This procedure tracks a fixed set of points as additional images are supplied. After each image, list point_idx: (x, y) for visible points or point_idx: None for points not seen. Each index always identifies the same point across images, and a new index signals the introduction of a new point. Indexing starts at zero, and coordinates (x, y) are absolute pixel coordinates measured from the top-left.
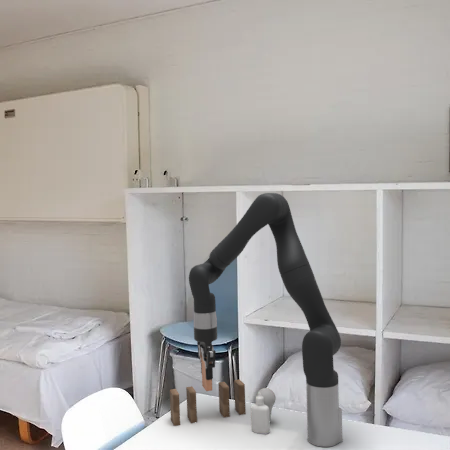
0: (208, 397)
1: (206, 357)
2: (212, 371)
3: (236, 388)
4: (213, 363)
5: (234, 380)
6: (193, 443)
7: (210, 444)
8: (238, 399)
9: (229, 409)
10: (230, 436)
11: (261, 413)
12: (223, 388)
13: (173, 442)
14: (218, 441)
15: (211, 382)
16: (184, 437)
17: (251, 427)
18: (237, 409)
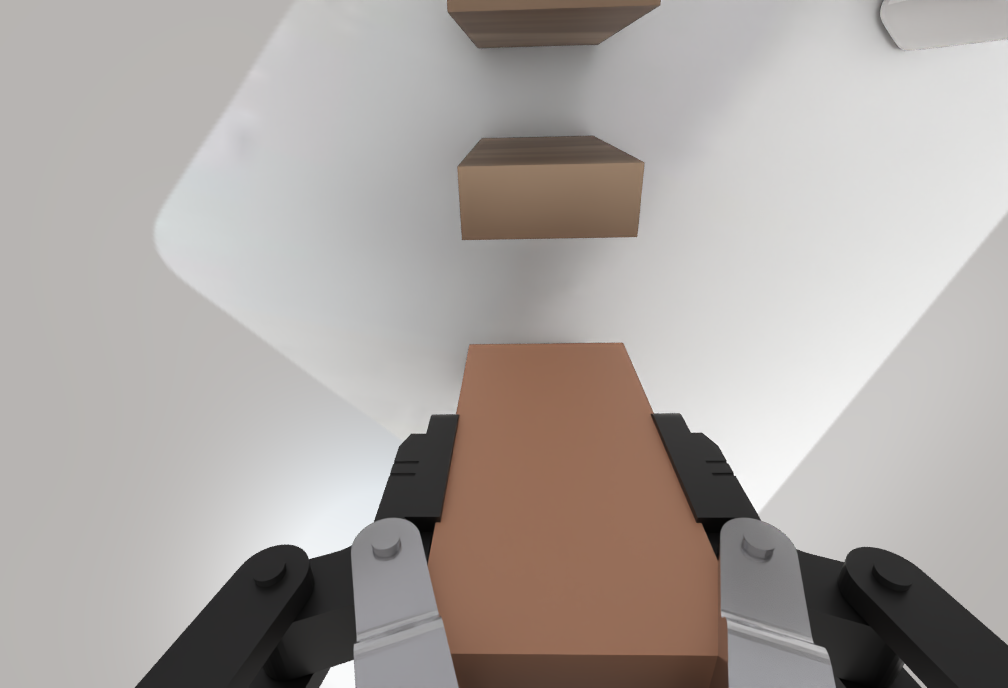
0: (204, 190)
1: (542, 685)
2: (712, 477)
3: (541, 20)
4: (967, 654)
5: (456, 8)
6: (811, 420)
7: (879, 351)
8: (589, 31)
9: (600, 140)
10: (868, 222)
11: None
12: (633, 227)
13: (745, 490)
14: (877, 305)
15: (641, 392)
16: (724, 442)
17: (923, 48)
18: (540, 43)
